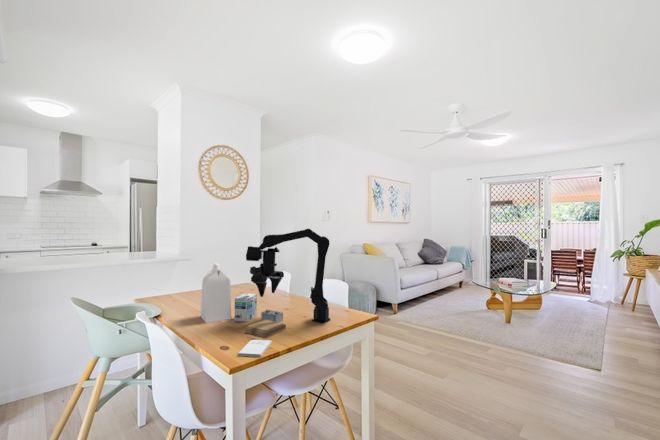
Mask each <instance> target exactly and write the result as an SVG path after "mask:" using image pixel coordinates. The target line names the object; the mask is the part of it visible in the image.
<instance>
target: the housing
mask: <svg viewBox="0 0 660 440" xmlns="http://www.w3.org/2000/svg"><path fill="white" fill-rule="evenodd" d="M260 314H261V315H260V316H261V317H260V319H261V320H260V321H262V320H270V321H274V322H279V323H282V322H283V321H284V312H283V311H278V310H272V309H266V310H264V311H261V313H260Z"/></svg>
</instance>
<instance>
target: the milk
mask: <svg viewBox="0 0 660 440" xmlns="http://www.w3.org/2000/svg"><path fill="white" fill-rule="evenodd" d="M220 266H221V265H220V263H215V262H214V263H213V267H212V269H211V270H210V271H208V272H207V273H206V275H204V277H203V278H202V282H201V283H202V285H201V300H200V301H201V302H200V303H201V305H200V318H202V319H201V320H203V321H204V323H205V324H209V323H215V322H221V321H226V320H231V319H232V317H233V316H232V295H231V293H232V291H231V290H232V289H231V280H230V278H229V277H228V276H227V274H224V272H222V270H221V267H220Z"/></svg>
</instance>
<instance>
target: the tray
mask: <svg viewBox="0 0 660 440" xmlns="http://www.w3.org/2000/svg"><path fill="white" fill-rule="evenodd" d="M286 327H287V326H286V324H285V323H283V322H274V321H270V320H260V321H258V322H254V323H252V324H249V325H247V326H245V327H244V333H245V334H246V333H247V334H249V335H254V336H258V337H261V338H265V339H267V338H269V337H272V336H274V335H276V334H278V333H281V332H282V331H284V330H286V329H287V328H286Z"/></svg>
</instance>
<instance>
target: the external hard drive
mask: <svg viewBox="0 0 660 440" xmlns="http://www.w3.org/2000/svg"><path fill="white" fill-rule="evenodd" d="M271 344H272V340H270V339H269V340H268V339H266V340H265V339H251V340H249V342H247V343H246V345H244V347H242V348H241V349H240V351H239V352H238V353H237V357H246V356H249V357H251V358H261V357H262V356H263V355H264V354H265V352H266V351H267V350H268V349H269V347H270V346H271ZM249 357H248V358H249Z"/></svg>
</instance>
